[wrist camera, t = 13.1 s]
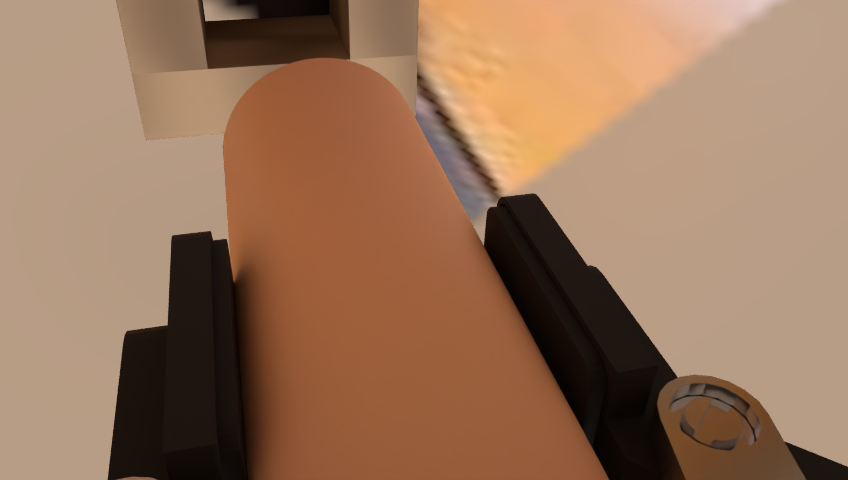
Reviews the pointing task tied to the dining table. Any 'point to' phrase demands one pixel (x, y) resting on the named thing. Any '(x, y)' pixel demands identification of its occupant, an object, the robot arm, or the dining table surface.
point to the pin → (374, 300)
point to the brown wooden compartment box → (251, 55)
